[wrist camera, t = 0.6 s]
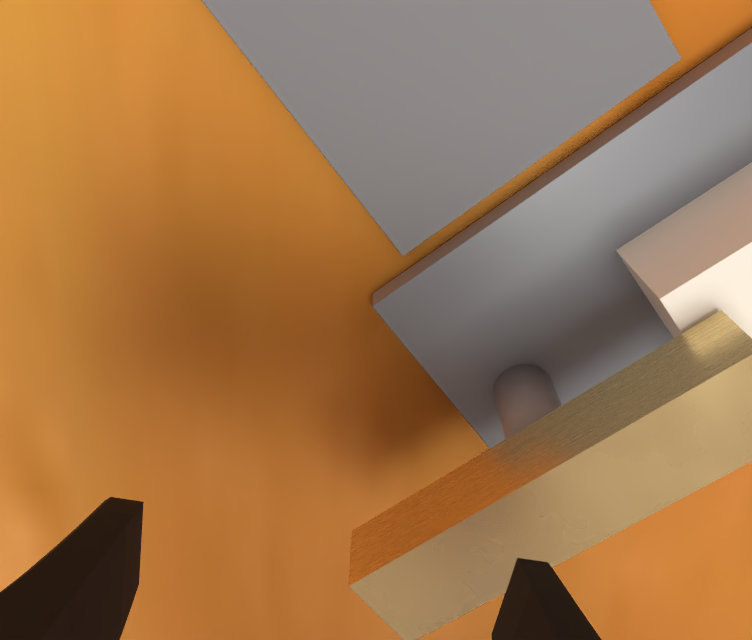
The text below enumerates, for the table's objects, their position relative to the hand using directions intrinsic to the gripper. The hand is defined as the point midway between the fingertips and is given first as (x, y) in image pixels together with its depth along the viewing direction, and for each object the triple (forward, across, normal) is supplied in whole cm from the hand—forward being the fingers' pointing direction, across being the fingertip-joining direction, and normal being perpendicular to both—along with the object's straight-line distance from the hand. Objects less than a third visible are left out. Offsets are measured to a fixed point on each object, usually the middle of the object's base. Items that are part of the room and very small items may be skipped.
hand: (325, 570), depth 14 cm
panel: (+10, -9, -4) cm, 14 cm away
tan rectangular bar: (+5, -6, 0) cm, 7 cm away
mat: (+10, -1, -10) cm, 14 cm away
